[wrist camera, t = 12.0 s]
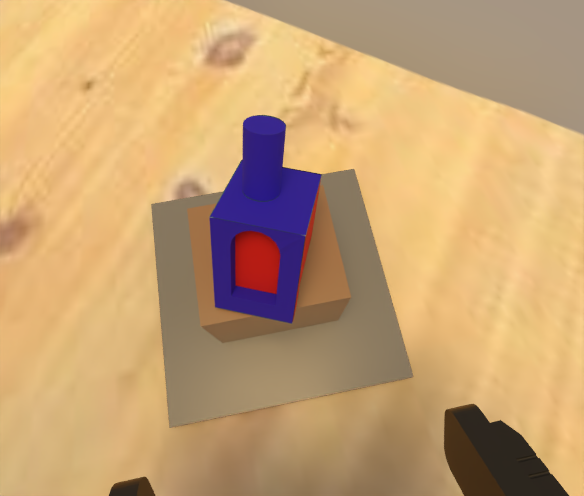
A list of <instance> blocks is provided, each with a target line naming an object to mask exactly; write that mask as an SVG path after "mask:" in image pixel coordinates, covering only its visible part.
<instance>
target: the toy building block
mask: <svg viewBox="0 0 584 496" xmlns="http://www.w3.org/2000/svg"><path fill="white" fill-rule="evenodd" d="M285 131H286V124H285V123H284V122H283V121H282V120H280V119H279V118H276V117H273V116H267V115H257V116H251V117H249V118H247V119H246V120H244V122H243V160H241V162H240V164H239V165H238V167H237V169H236V171H235V172H234V174H233V176H232V178H231V179H230V181H229V183H228V185H227V187H226V188H225V190H224V192H223V194H222V195H221V197H220V199H219V201H218V202H217V204H216V206H215V208H214V209H213V211H212V213H211V215H210V216H209V218H210V235H211V251H212V268H213V284H214V300H215V308H220V309H225V310H229V311H234V312H239V313H243V314H248V315H253V316H258V317H262V318H267V319H272V320H276V321H281V322H286V323H290V324H293V320H294V316H295V311H296V306H297V299H298V293H299V287H300V282H301V277H302V273H303V269H304V265H305V261H306V257H307V253H308V249H309V244H310V240H311V236H312V231H313V225H314V219H315V213H316V207H317V201H318V195H319V188H320V182H321V176H322V174H317V173H312V172H306V171H301V170H295V169H290V168H285V167H282V165H283V154H284V142H285Z"/></svg>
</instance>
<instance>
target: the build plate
mask: <svg viewBox="0 0 584 496" xmlns="http://www.w3.org/2000/svg"><path fill="white" fill-rule="evenodd" d="M222 194H223V192H218V193H213V194H207V195H201V196H195V197H190V198H184V199H178V200H172V201H167V202H161V203H155V204H151V205H152V218H153V230H154V242H155V255H156V267H157V280H158V292H159V304H160V317H161V329H162V341H163V354H164V366H165V378H166V391H167V403H168V415H169V428H171V427H176V426H181V425H186V424H191V423H196V422H200V421H205V420H210V419H215V418H220V417H224V416H229V415H234V414H239V413H244V412H248V411H253V410H258V409H263V408H268V407H272V406H277V405H282V404H287V403H292V402H296V401H301V400H306V399H311V398H316V397H320V396H325V395H330V394H335V393H340V392H344V391H349V390H354V389H359V388H364V387H368V386H373V385H378V384H383V383H388V382H392V381H397V380H402V379H407V378H412V377H413V373H412V370H411V366H410V363H409V359H408V356H407V352H406V349H405V345H404V342H403V338H402V335H401V331H400V328H399V324H398V321H397V317H396V314H395V310H394V307H393V303H392V300H391V296H390V293H389V289H388V286H387V282H386V279H385V275H384V272H383V268H382V265H381V261H380V258H379V254H378V251H377V247H376V244H375V240H374V237H373V233H372V230H371V226H370V223H369V219H368V216H367V212H366V209H365V205H364V202H363V198H362V195H361V191H360V188H359V184H358V181H357V177H356V174H355V170H354V169H351V170H345V171H339V172H333V173H328V174H322V176H321V182H320V188H319V195H318V201H317V207H316V213H315V219H314V225H313V231H312V236H311V240H310V244H309V249H308V253H307V257H306V261H305V265H304V269H303V273H302V277H301V282H300V287H299V293H298V299H297V306H296V311H295V316H294V320H293V324H290V323H286V322H281V321H276V320H272V319H267V318H262V317H258V316H253V315H248V314H243V313H239V312H234V311H229V310H225V309H220V308H215V300H214V284H213V268H212V251H211V235H210V218H209V216H210V215H211V213H212V211H213V209H214V208H215V206H216V204H217V202H218V201H219V199H220V197H221V195H222Z"/></svg>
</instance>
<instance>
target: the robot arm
mask: <svg viewBox="0 0 584 496" xmlns="http://www.w3.org/2000/svg"><path fill="white" fill-rule="evenodd" d="M444 450H445V455H446V459H447V462H448V465H449V467H450V470H451V472H452V474H453V476H454V477H455V479H456V481H457V483H458V485H459V487H460V488H461V490H462V492H463V494H464V496H569V495H568V494H567V492H566V491H565V490H564V489H563V487H562V486H561V485H560V484H559V482H558V481H557V480H556V478H555V477H554V476H553V475H552V474H550V473H549V470H548V468H547V467H546V466H545V465H544V463H543V462H542V461H541V459H540V458H538V457H537V456H536V453H535V452H534V451H533V449H532V448H531V447H530V446H529V444H528V443H527V442H526V441H525V439H524V438H523V437H522V435H520V434H519V433H518V432H516V431H515V430H513V429H512V428H511V427H509V426H508V425H506V424H505V423H504V422H502V421H501V420H500V421H496V422H492V423H489V421H488V420H487V418H486V417H485V416H484V414H483V413H482V412H481V410H480V409H479V408H478V407H477V406H476V405H475V404H469V405H465V406H460V407H456V408H451V409H447V410H446V411H445V425H444ZM109 496H155V494H154V491H153V489H152V487H151V485H150V483H149V481H148V479H147V478H146V477H141V478H136V479H132V480H128V481H123V482H119V483H115V484H114V485H113V487H112V488H111V491H110V494H109Z"/></svg>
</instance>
